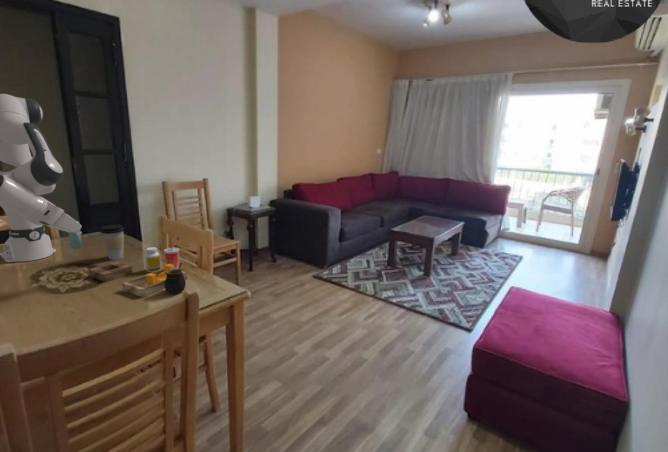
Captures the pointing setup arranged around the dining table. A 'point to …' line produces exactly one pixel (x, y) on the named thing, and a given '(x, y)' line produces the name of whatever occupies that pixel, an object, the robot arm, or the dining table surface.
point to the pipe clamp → (162, 276)
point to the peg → (75, 240)
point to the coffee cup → (113, 240)
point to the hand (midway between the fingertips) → (76, 233)
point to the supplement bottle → (152, 259)
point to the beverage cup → (172, 256)
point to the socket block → (110, 271)
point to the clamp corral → (134, 284)
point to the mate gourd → (174, 281)
